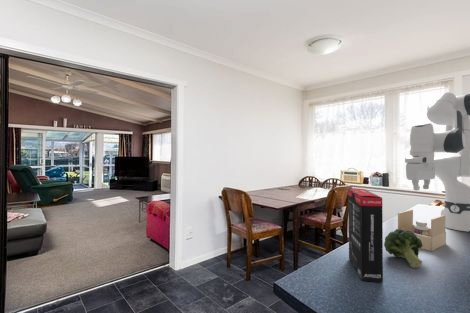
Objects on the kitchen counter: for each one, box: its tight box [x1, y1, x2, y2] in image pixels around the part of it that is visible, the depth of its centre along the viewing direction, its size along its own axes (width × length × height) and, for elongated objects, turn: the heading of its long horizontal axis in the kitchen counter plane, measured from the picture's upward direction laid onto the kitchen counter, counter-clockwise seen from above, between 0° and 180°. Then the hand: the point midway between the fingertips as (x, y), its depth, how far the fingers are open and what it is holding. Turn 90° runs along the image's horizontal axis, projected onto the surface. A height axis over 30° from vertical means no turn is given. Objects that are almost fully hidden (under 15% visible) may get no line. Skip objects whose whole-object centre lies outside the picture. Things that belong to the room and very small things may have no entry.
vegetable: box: [383, 228, 423, 269], centre depth 92 cm, size 12×13×15 cm
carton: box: [397, 209, 447, 252], centre depth 110 cm, size 15×13×13 cm
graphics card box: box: [347, 188, 384, 283], centre depth 84 cm, size 17×7×27 cm, turn 168°
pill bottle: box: [414, 220, 429, 237], centre depth 110 cm, size 5×5×10 cm
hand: (421, 189), depth 110 cm, fingers open, 8 cm apart
